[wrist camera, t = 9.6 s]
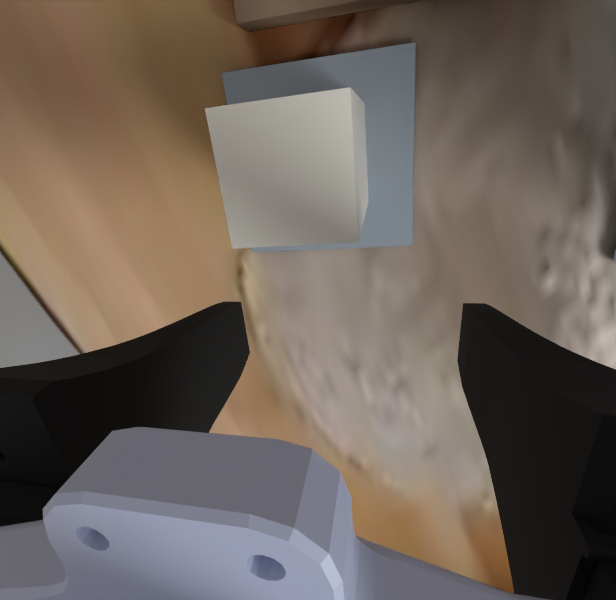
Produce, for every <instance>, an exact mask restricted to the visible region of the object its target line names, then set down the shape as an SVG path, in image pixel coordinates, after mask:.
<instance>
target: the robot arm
mask: <svg viewBox="0 0 616 600" xmlns="http://www.w3.org/2000/svg"><path fill="white" fill-rule="evenodd" d="M614 261H615V263H616V250H615V254H614ZM249 353H250V351H249V345H248V340H247V334H246V328H245V323H244V317H243V311H242V306H241V302H222V303H218V304H215V305H213V306H210V307H208V308H206V309H203V310H201V311H199V312H197V313H195V314H192V315H190V316H188V317H186V318H184V319H181V320H179V321H177V322H175V323H172V324H170V325H168V326H165V327H163V328H161V329H158V330H156V331H154V332H151V333H149V334H146V335H144V336H141V337H138V338H135V339H132V340H129V341H126V342H123V343H120V344H117V345H114V346H110V347H107V348H103V349H99V350H95V351H92V352H88V353H84V354H80V355H76V356H71V357H66V358H62V359H57V360H52V361H46V362H40V363H35V364H28V365H20V366H12V367H5V368H0V600H616V370H615V369H612V368H610V367H607V366H605V365H602V364H599V363H597V362H595V361H592V360H590V359H588V358H585V357H583V356H581V355H578V354H576V353H574V352H572V351H569V350H567V349H565V348H563V347H561V346H559V345H557V344H555V343H553V342H551V341H550V340H548V339H546V338H544V337H542V336H540V335H538V334H537V333H535V332H533V331H531V330H530V329H528V328H526V327H524V326H523V325H521V324H519V323H518V322H516V321H514V320H513V319H511V318H510V317H508V316H506V315H505V314H503V313H502V312H500V311H498V310H497V309H495V308H493V307H491V306H489V305H487V304H477V303H463V311H462V321H461V331H460V341H459V351H458V366H459V371H460V377H461V382H462V387H463V390H464V393H465V396H466V399H467V402H468V405H469V408H470V411H471V414H472V416H473V419H474V422H475V425H476V428H477V431H478V434H479V436H480V439H481V442H482V445H483V448H484V451H485V454H486V458H487V461H488V465H489V469H490V473H491V478H492V482H493V487H494V491H495V496H496V500H497V505H498V510H499V515H500V520H501V524H502V529H503V534H504V539H505V544H506V550H507V555H508V560H509V566H510V571H511V576H512V582H513V587H514V593H515V594H512V593H509V592H506V591H503V590H500V589H498V588H495V587H492V586H490V585H487V584H484V583H482V582H479V581H476V580H473V579H471V578H468V577H465V576H463V575H460V574H457V573H455V572H452V571H449V570H446V569H444V568H441V567H438V566H436V565H433V564H430V563H428V562H425V561H422V560H420V559H417V558H414V557H411V556H409V555H406V554H403V553H401V552H398V551H395V550H393V549H390V548H387V547H384V546H382V545H379V544H376V543H374V542H371V541H368V540H366V539H363V538H360V537H357V536H356V535H355V531H354V527H353V523H352V504H351V496H350V493H349V491H348V489H347V486H346V484H345V482H344V479H343V477H342V475H341V472H340V471H339V470H338V469H336V468H335V467H334V466H332V465H331V464H330V463H329V462H327V461H326V460H325V459H324V458H322V457H321V456H320V455H318V454H317V453H316V452H315V451H313V450H312V449H311V448H307V447H304V446H300V445H297V444H294V443H290V442H287V441H283V440H280V439H270V438H259V437H248V436H237V435H226V434H214V433H209V431H210V429H211V427H212V425H213V423H214V422H215V420H216V418H217V417H218V415H219V413H220V411H221V410H222V408H223V406H224V404H225V403H226V401H227V399H228V398H229V396H230V394H231V392H232V391H233V389H234V387H235V385H236V384H237V382H238V380H239V378H240V376H241V374H242V372H243V369H244V367H245V364H246V361H247V359H248V356H249Z"/></svg>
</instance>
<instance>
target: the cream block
mask: <svg viewBox="0 0 616 600" xmlns="http://www.w3.org/2000/svg"><path fill="white" fill-rule="evenodd" d="M205 112H206V117H207V122H208V127H209V133H210V138H211V143H212V148H213V153H214V158H215V163H216V168H217V173H218V178H219V183H220V188H221V193H222V198H223V203H224V208H225V213H226V218H227V223H228V228H229V233H230V238H231V243H232V248H233V249H236V248H255V247H275V246H294V245H314V244H333V243H353V242H359V238H360V234H361V230H362V226H363V222H364V218H365V214H366V210H367V205H368V177H367V151H366V125H365V103H364V102H363V101H362V100H361V99H360V97H359V96H358V95H357V94H356V93H355V92H354V91H353V90H352V89H351V87H348V88H342V89H335V90H328V91H321V92H314V93H307V94H300V95H293V96H286V97H279V98H273V99H266V100H259V101H252V102H245V103H238V104H231V105H224V106H217V107H210V108H205Z"/></svg>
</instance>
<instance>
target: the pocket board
mask: <svg viewBox="0 0 616 600" xmlns="http://www.w3.org/2000/svg"><path fill="white" fill-rule="evenodd" d="M416 1H422V0H233V3H234V9H235V16H236V23H237V24H238V25H239V26H241V27H242V28H244V29H245V30H246V31H248V32H250V31H256V30H261V29H267V28H272V27H278V26H283V25H289V24H294V23H300V22H306V21H311V20H317V19H322V18H328V17H333V16H339V15H344V14H350V13H355V12H361V11H366V10H372V9H377V8H383V7H388V6H394V5H400V4H405V3H411V2H416Z"/></svg>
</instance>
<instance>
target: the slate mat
mask: <svg viewBox="0 0 616 600" xmlns="http://www.w3.org/2000/svg"><path fill="white" fill-rule="evenodd" d="M415 55H416V42H414V43H407V44H401V45H395V46H388V47H382V48H375V49H369V50H363V51H356V52H350V53H344V54H337V55H331V56H325V57H318V58H312V59H306V60H299V61H293V62H287V63H280V64H274V65H268V66H261V67H255V68H249V69H242V70H236V71H230V72H223V73H222V79H223V84H224V90H225V96H226V102H227V105H231V104H238V103H245V102H252V101H259V100H266V99H273V98H279V97H286V96H293V95H300V94H307V93H314V92H321V91H328V90H335V89H342V88H348V87H351V89H352V90H353V91H354V92H355V93H356V94H357V95H358V96H359V97H360V99H361V100H362V101H363V102H364V103H365V125H366V151H367V177H368V205H367V210H366V214H365V218H364V222H363V226H362V230H361V234H360V238H359V242H353V243H333V244H314V245H294V246H275V247H255V248H251V249H252V252H269V251H293V250H317V249H341V248H365V247H389V246H412V232H413V173H414V114H415Z"/></svg>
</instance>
